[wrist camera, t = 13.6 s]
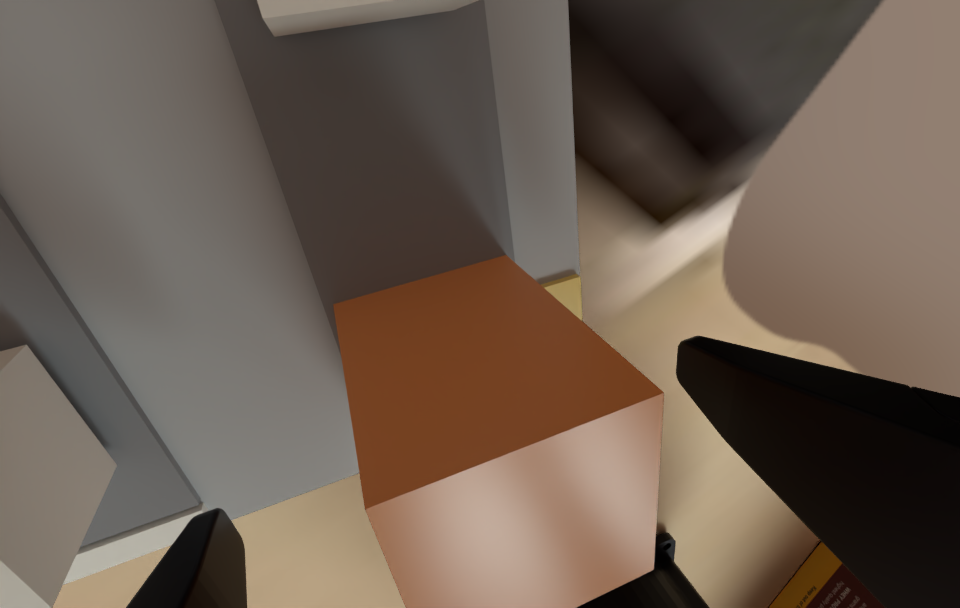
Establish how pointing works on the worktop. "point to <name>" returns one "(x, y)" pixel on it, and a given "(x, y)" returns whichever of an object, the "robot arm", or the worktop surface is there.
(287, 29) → the toggle
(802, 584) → the supplement box
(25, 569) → the toggle
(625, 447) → the orange rectangular block
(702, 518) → the worktop surface
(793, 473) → the robot arm
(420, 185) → the breaker panel
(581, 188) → the worktop surface
